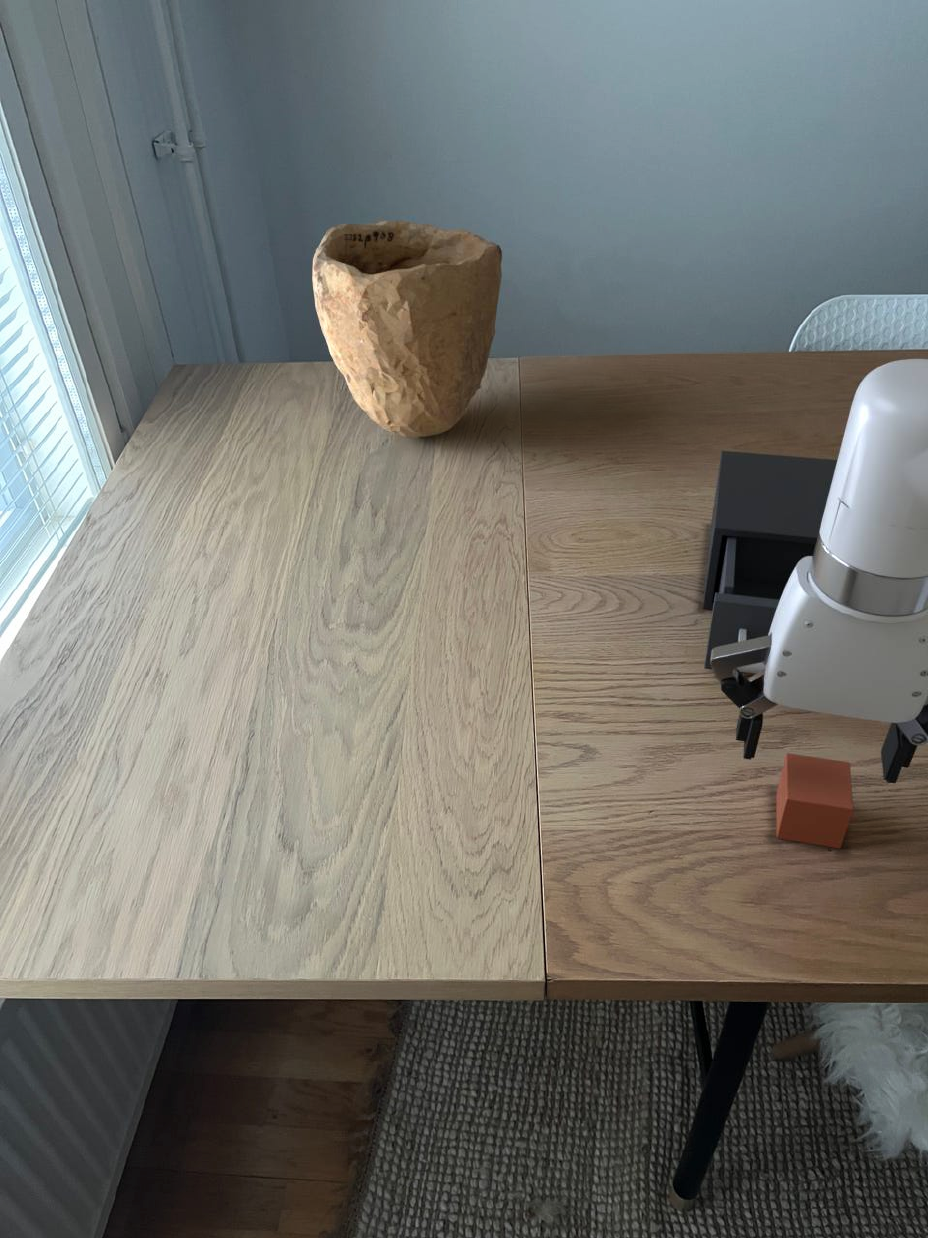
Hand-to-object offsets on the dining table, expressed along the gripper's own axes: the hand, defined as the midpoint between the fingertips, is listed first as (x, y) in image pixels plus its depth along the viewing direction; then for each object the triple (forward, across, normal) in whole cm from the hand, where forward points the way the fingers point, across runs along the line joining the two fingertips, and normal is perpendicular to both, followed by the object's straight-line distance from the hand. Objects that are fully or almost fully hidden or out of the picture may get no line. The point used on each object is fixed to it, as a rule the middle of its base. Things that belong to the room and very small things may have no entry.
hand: (817, 756), depth 69 cm
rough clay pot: (+8, +46, -55) cm, 72 cm away
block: (+7, -1, 0) cm, 7 cm away
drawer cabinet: (+7, +2, -32) cm, 33 cm away
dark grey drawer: (+6, +2, -19) cm, 20 cm away
